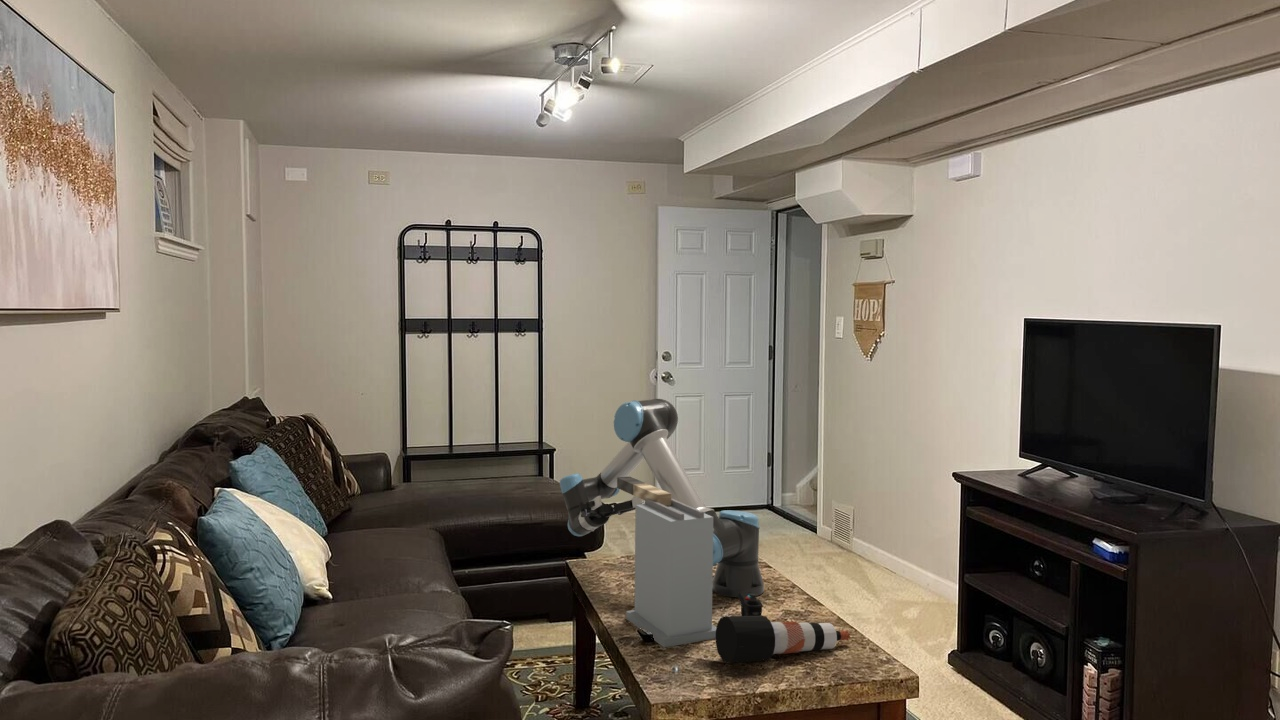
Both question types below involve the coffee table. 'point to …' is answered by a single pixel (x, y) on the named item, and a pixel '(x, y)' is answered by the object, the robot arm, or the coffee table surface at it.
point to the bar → (643, 490)
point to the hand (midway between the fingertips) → (621, 499)
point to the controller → (750, 604)
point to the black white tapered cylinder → (771, 637)
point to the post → (673, 573)
